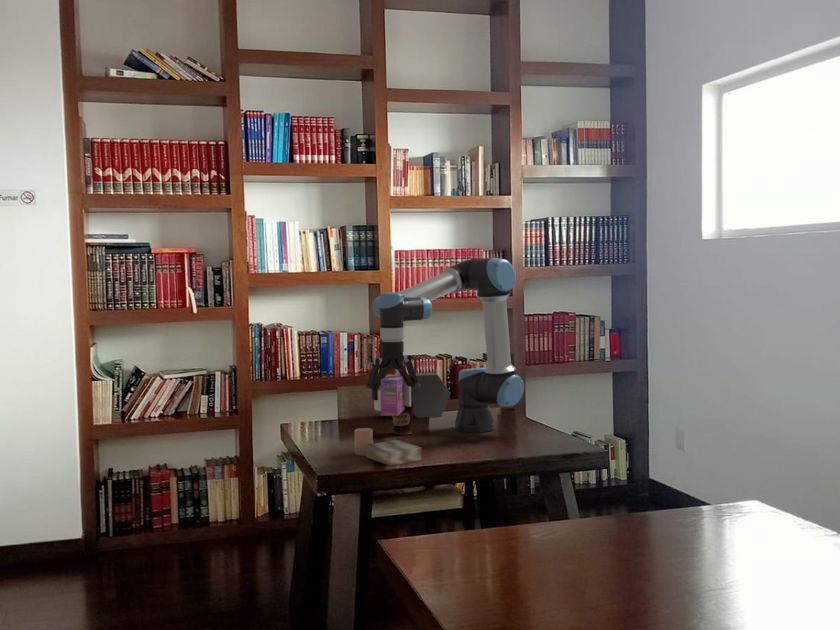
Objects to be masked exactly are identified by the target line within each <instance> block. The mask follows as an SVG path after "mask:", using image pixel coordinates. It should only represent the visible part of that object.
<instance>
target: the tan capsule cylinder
mask: <svg viewBox="0 0 840 630" xmlns="http://www.w3.org/2000/svg"><path fill="white" fill-rule="evenodd" d="M373 432H374V431H373V428H369V427H364V428H363V427H362V428H356V429H354V454H355V456H361V457H364V456H365V457H367V445H369V444H374V440H373V439H374V438H373V436H374V433H373Z"/></svg>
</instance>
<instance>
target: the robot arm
mask: <svg viewBox="0 0 840 630" xmlns="http://www.w3.org/2000/svg"><path fill="white" fill-rule="evenodd" d="M516 279H517V277H516V272H515V269H514V267H513V264H511V262H510V261H509V260H507V259H504V258H498V257H487V258H486V257H485V258H478V257H477V258H476V257H475V258H470V259H465V260H463V261H461V262H458V263H456V264H454V265H450V266H448V267H446V268H445V269H444V270H443V271H442V273H440V274H438V275H434V276H432V277H430V278H427V279H426V280H423V281H421V282H418V283H416V284H414V285H412V286H409V287H407V288H405V289H402V290H400V291H398V292H382V293H380V295H379V296H377V297H375V299H374V300H373V302H372V305H371V306H372V313H373V314H374V316H375V317H377V318H379V331H380V332H379V333H380V334H379V339H380V340H381V341H380V346H379V347H380V350H379V351H380V357H373V358H372V359H371V361H372V362H371V363H372V365H371V369H370V372H369V375H368V378H367V382H366V388H367V389H370V390H371V395H372V396H371V399H372V400H373V405H374V406H373V407H374V410H375V411H377V412H381V389H379V388H381V379H384V377H385V376H387V375H386V374H387V373H388V372H389V371H391V370H397V371H398V373H399V375H402V376H403V377H404V384H407V386H405V385H404V389H405V406H409V407H410V406H411V396H412V395H413V386H415V384H417V383H418V384H419V382H418V380H417V377H416V374H415V373H416V372H415V368H414V364H413V357H412V355H409V354H404V351H405V346H404V345H405V343H404V341H403V340H404V337H405V336H404V335H405V334H404V322H407V321H411V322H412V321H422V320H428V319H429V318H430V317H431V315H432V313H433V304H432V301H434V300H436V299H439V298H441V297H443V296H445V295H447V294H451V293H453V294H456V293H458V292H462V291H477V298H478V299H480V301H482V311H483V321H484V322H483V323H484V326H483V327H484V337H485V348H486V361H487V363H486V364H487V366H486V367H473V368H466V369H465V368H464V369H462V370H460V371H459V372H458V380H457V383H458V384H457V385H458V411H457V413H456V416H455V417H456V418H455V421H454V425H453V427H454V430H456V431H459V432H463V433H485V432H491V431H493V430H494V429H495V421H494V419H493V415H492V412H491V409H490V405H493V406H499V407H508V408H509V407H513V406H515V405H517V404H518V403H519V401H520V400H521V398H522V397H523V393H524V388H525V384H524V380H523V379H522V377H521V376H520V375H518V374H517V369H516V367H515V366H514V365H513V364H512V359H511V358H512V357H511V346H510V345H511V343H510V333H509V331H510V330H509V320H508V306H507V299H508V298H509V296H511V290H512V289H513V288H514V287H515V283H516ZM403 362H404V364H403ZM404 365H405V366H404Z"/></svg>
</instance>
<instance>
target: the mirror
mask: <svg viewBox="0 0 840 630" xmlns="http://www.w3.org/2000/svg"><path fill="white" fill-rule="evenodd" d="M366 458H368V459H371V460H374V461H377V462H380V463H382V464H385V465H386V466H396V465H401V464H407V463H411V462H416V461H422V446H421V447H420V446H419V445H415V444H411V443H409V442H406V441H401V440H400V439H399V440H398V439H393V440H389V441H381V442H375V443H373V444H369V445H367V456H366Z"/></svg>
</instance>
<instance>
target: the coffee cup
mask: <svg viewBox="0 0 840 630" xmlns="http://www.w3.org/2000/svg"><path fill="white" fill-rule="evenodd" d="M404 405H405V398H404ZM413 406H414V402H413V401H412V399H411V406H410V407H409V406H405V410H404V411H402V412H401V413H400V414H399V415H398V416H392V424H393V430H394V431H393V433H394V434H395V435H401V436H402V435H410V434H412V422H413V418H414V417H413V416H414V415H413Z"/></svg>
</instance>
